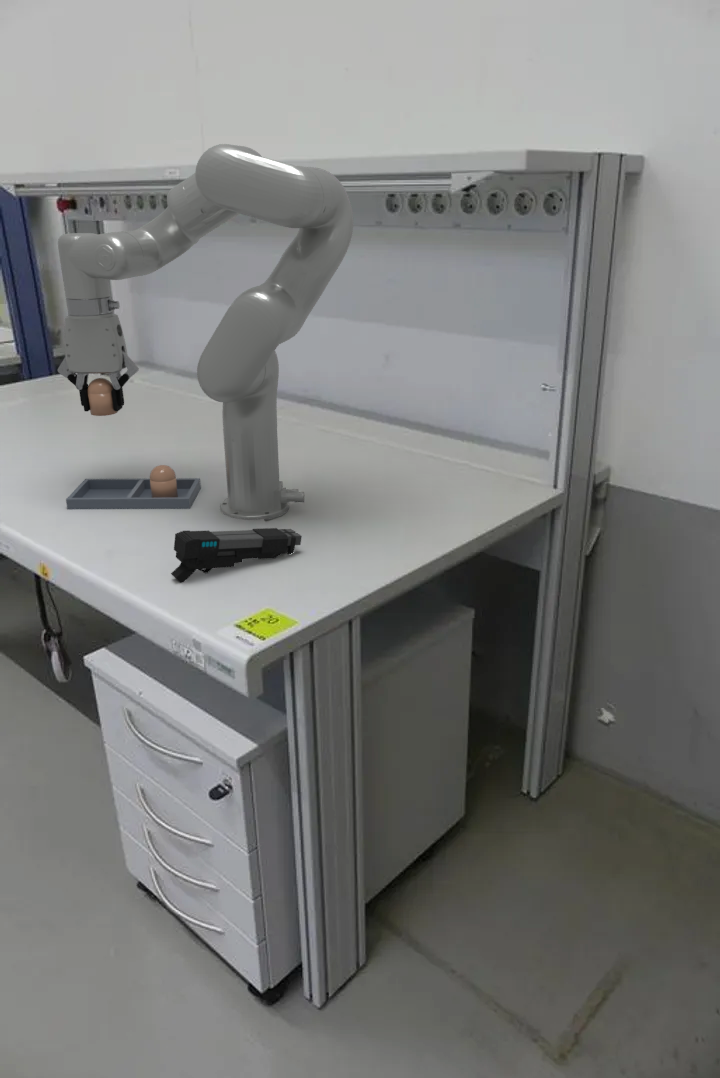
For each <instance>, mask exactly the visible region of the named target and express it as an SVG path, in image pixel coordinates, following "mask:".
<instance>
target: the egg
mask: <svg viewBox="0 0 720 1078" xmlns="http://www.w3.org/2000/svg"><path fill="white" fill-rule="evenodd" d="M111 390H113V385H112V382H111V380H109V379H107V378H104V377H97V378H95V379H92V380H91V381H90V382H89V384H88V399H89V406H90V410H89V411H90V415H91V416H94V417H105V416H106V417H107V416H112V415H116V414H117V413H118V412H119V411H114V409H113V402H112V394H111Z"/></svg>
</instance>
